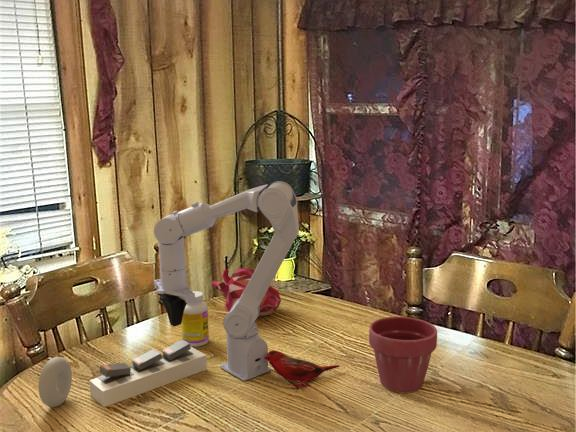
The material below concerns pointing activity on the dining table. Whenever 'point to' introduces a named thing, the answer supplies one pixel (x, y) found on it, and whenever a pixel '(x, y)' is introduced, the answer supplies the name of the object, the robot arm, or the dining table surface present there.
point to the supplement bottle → (195, 322)
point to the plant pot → (402, 351)
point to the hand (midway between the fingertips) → (176, 324)
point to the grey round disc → (55, 381)
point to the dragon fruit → (237, 285)
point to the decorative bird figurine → (295, 368)
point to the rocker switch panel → (147, 377)
